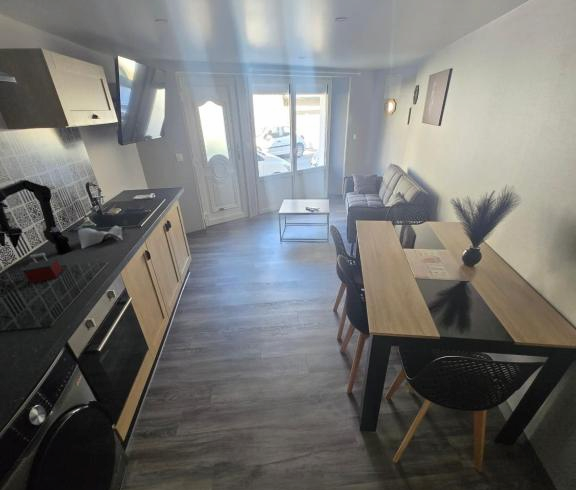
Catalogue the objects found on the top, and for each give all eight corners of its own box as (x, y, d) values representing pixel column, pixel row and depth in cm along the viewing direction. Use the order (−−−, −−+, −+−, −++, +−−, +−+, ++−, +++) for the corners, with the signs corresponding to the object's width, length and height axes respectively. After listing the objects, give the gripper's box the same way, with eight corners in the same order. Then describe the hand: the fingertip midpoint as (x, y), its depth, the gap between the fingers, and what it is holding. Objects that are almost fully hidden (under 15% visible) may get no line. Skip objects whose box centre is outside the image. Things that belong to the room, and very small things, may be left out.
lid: (31, 263, 160) (25, 254, 157) (57, 258, 163) (51, 249, 160) (23, 272, 152) (17, 262, 149) (50, 267, 154) (44, 257, 151)
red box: (37, 274, 164) (31, 263, 160) (62, 269, 166) (56, 259, 163) (30, 282, 155) (23, 272, 152) (56, 277, 158) (50, 267, 154)
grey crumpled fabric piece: (126, 232, 210) (121, 219, 205) (123, 242, 195) (117, 227, 190) (87, 239, 204) (81, 225, 199) (81, 249, 189) (74, 235, 184)
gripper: (-33, 217, 149) (-21, 248, 155) (-8, 218, 144) (4, 250, 150) (-7, 215, 159) (4, 244, 165) (18, 216, 154) (27, 246, 160)
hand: (9, 246), depth 160 cm, fingers open, 9 cm apart
